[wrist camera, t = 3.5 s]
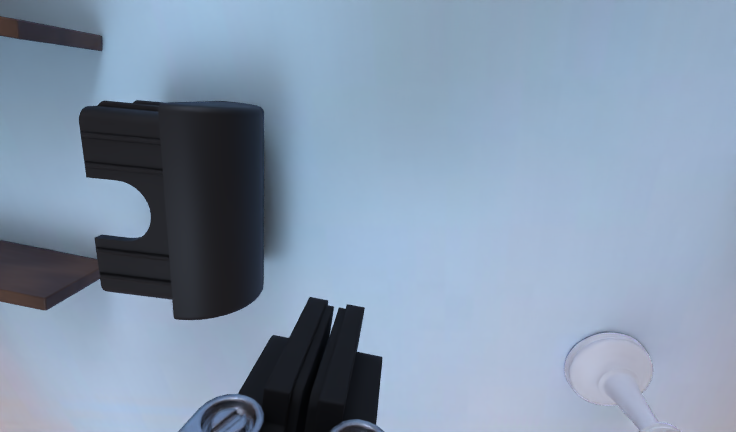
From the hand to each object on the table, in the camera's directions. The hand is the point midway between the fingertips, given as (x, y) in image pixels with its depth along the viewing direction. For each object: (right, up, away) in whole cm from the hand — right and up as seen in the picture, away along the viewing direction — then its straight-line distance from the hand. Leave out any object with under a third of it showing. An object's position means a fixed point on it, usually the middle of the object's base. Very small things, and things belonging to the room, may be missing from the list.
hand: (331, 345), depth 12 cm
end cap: (-7, +6, +12) cm, 15 cm away
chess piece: (+16, -5, +13) cm, 21 cm away
